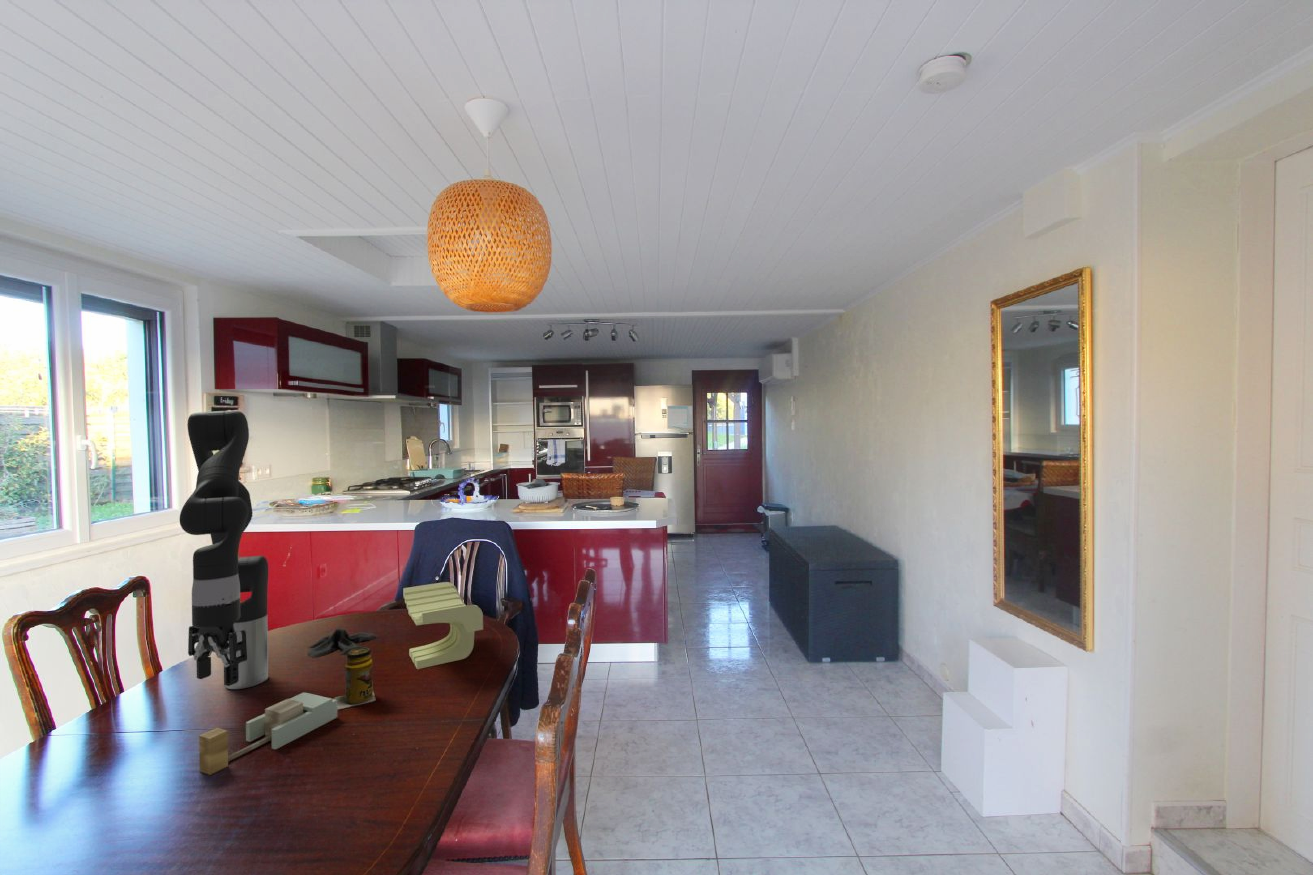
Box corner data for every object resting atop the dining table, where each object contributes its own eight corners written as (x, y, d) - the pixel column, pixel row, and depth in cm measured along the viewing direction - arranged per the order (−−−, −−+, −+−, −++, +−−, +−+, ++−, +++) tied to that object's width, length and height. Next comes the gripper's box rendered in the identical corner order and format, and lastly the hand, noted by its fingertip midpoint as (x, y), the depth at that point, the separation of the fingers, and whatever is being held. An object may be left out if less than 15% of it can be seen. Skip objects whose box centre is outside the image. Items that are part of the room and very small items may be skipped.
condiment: (376, 700, 137) (375, 652, 137) (336, 710, 132) (335, 660, 132) (372, 689, 143) (371, 643, 143) (334, 698, 138) (333, 650, 138)
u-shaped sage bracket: (246, 740, 120) (245, 718, 119) (309, 710, 133) (308, 689, 133) (275, 749, 116) (275, 726, 116) (337, 717, 129) (337, 696, 129)
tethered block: (196, 770, 109) (196, 734, 109) (288, 725, 126) (287, 694, 126) (212, 775, 107) (212, 739, 107) (303, 729, 124) (302, 697, 124)
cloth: (380, 633, 186) (380, 614, 186) (370, 653, 168) (370, 633, 168) (304, 641, 179) (303, 622, 179) (285, 664, 162) (285, 642, 162)
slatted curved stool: (483, 665, 157) (482, 602, 157) (423, 680, 148) (422, 613, 148) (456, 634, 182) (456, 580, 182) (404, 645, 174) (403, 588, 173)
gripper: (172, 600, 109) (173, 683, 109) (218, 607, 104) (219, 694, 104) (214, 590, 116) (215, 668, 116) (259, 597, 111) (261, 678, 111)
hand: (217, 680), depth 110 cm, fingers open, 8 cm apart
